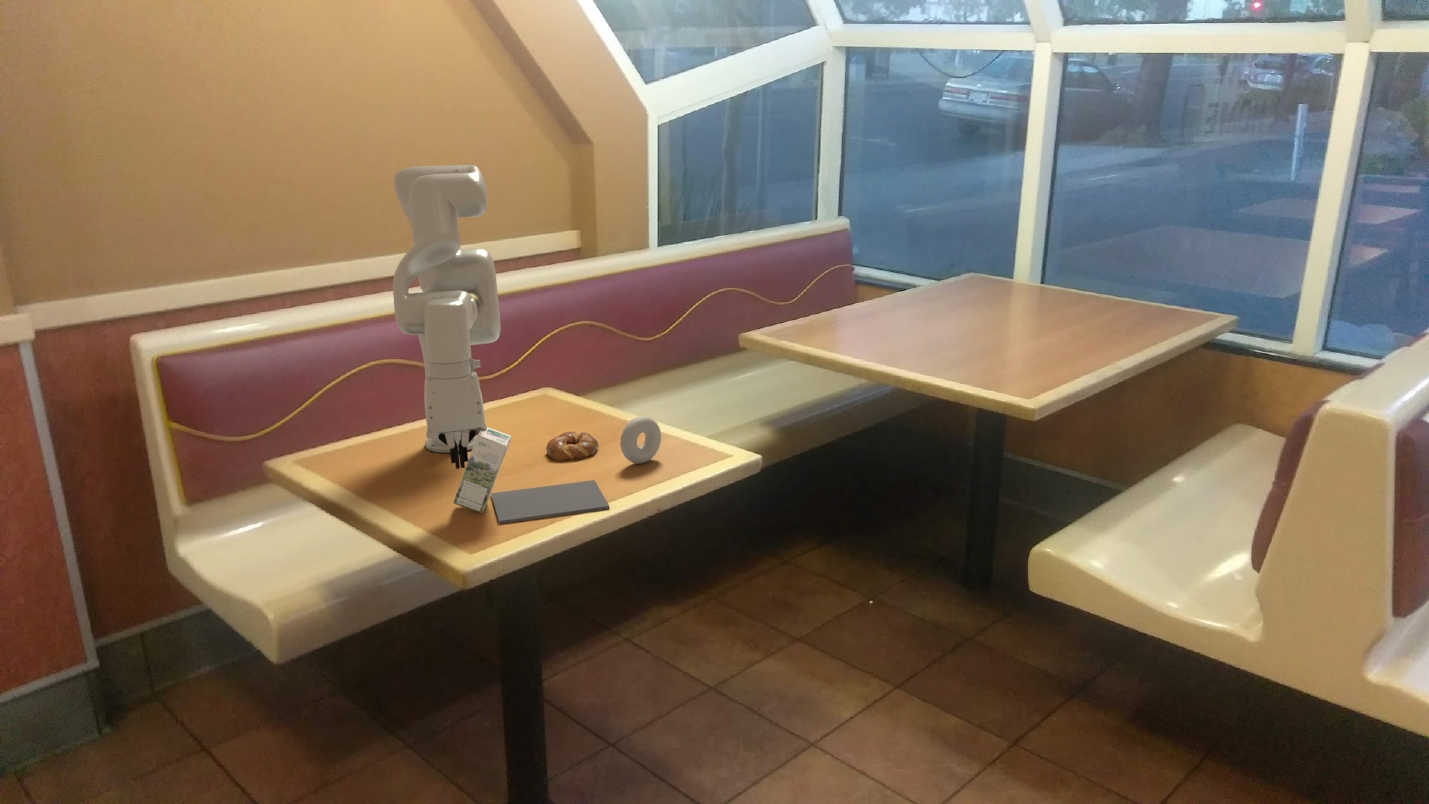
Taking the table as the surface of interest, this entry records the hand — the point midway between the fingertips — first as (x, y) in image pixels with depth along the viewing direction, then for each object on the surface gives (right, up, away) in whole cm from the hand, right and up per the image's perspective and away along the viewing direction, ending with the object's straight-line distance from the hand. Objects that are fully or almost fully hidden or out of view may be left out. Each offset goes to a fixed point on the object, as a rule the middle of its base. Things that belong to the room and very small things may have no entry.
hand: (460, 465), depth 184 cm
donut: (+31, -1, +25) cm, 40 cm away
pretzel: (+16, 0, +32) cm, 36 cm away
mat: (+15, -7, +5) cm, 18 cm away
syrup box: (+1, -7, +2) cm, 8 cm away
